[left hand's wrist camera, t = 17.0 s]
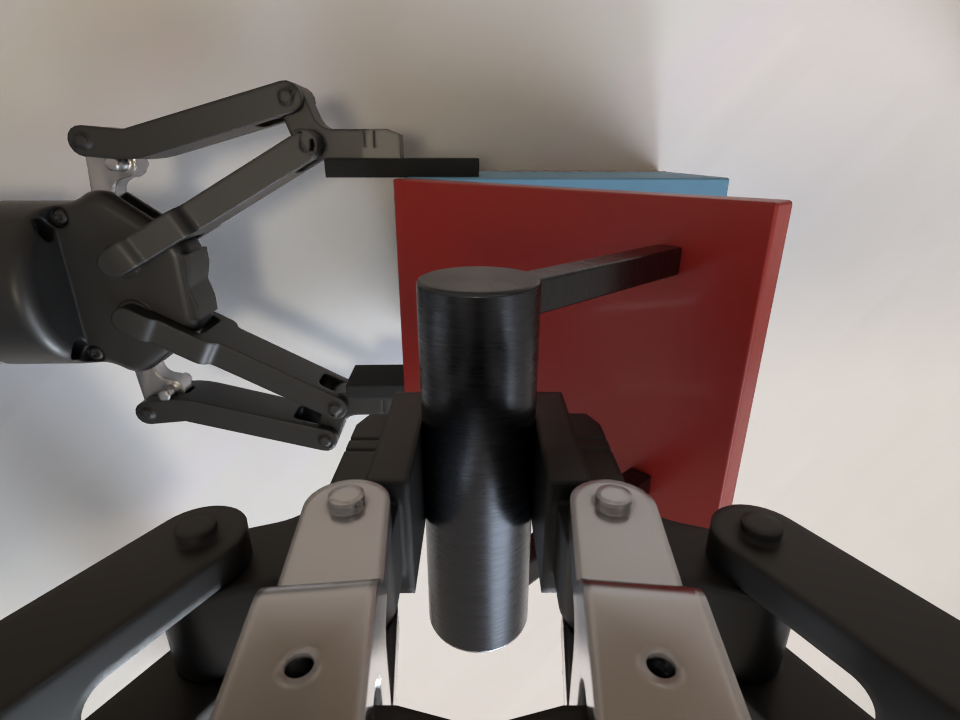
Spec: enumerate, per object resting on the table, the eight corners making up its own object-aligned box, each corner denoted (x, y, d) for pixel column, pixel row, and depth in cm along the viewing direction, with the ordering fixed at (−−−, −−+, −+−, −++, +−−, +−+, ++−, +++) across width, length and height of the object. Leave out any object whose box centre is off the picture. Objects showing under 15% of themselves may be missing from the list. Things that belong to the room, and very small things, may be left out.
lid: (794, 199, 12) (543, 238, 7) (723, 547, 16) (520, 758, 10) (411, 178, 22) (184, 186, 17) (420, 393, 26) (235, 459, 20)
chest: (658, 170, 31) (730, 177, 23) (640, 332, 34) (696, 388, 26) (418, 170, 31) (403, 177, 22) (424, 334, 34) (413, 392, 26)
